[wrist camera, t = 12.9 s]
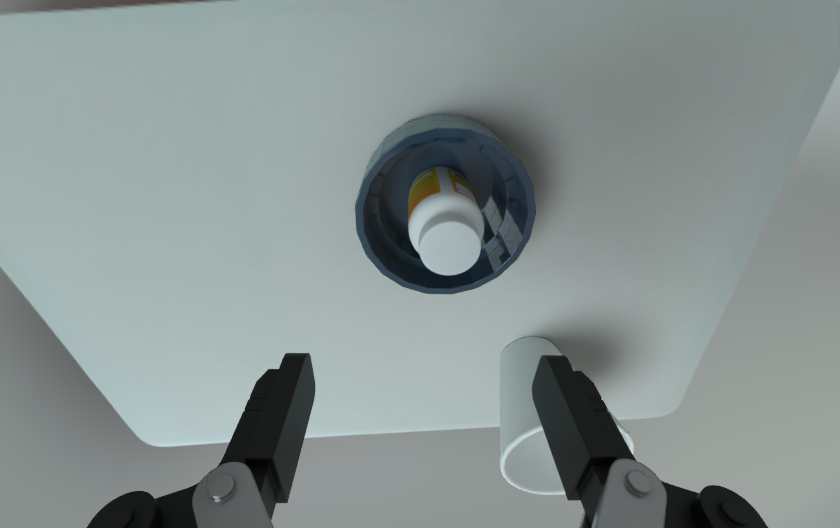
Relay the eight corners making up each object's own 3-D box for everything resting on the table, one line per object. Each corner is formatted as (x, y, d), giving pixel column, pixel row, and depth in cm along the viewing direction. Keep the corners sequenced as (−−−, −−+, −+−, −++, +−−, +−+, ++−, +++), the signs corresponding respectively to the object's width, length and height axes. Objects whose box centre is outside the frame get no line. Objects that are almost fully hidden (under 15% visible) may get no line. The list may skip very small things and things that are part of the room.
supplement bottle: (408, 223, 32) (407, 285, 24) (408, 164, 29) (407, 210, 21) (467, 224, 32) (487, 285, 24) (473, 165, 30) (498, 211, 21)
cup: (457, 366, 43) (473, 471, 32) (528, 302, 38) (573, 401, 27) (527, 403, 47) (561, 507, 36) (599, 349, 42) (663, 451, 31)
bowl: (361, 109, 28) (350, 123, 23) (528, 117, 28) (554, 132, 23) (367, 256, 35) (359, 292, 29) (501, 259, 35) (516, 296, 30)
